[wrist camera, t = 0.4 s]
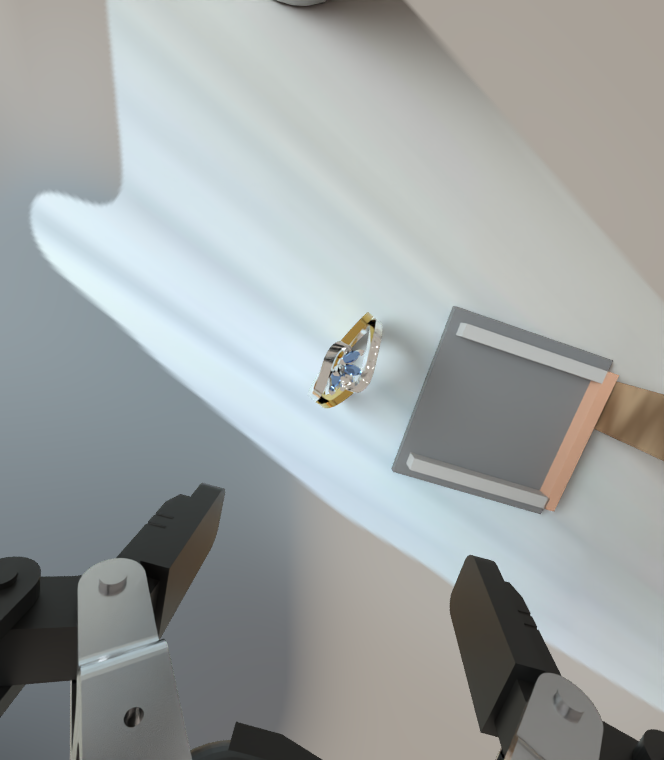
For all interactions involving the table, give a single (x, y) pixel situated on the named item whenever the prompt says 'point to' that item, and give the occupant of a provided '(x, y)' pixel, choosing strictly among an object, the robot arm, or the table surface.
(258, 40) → the table surface
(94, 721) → the robot arm
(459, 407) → the seat
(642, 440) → the shelf
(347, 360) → the ring
